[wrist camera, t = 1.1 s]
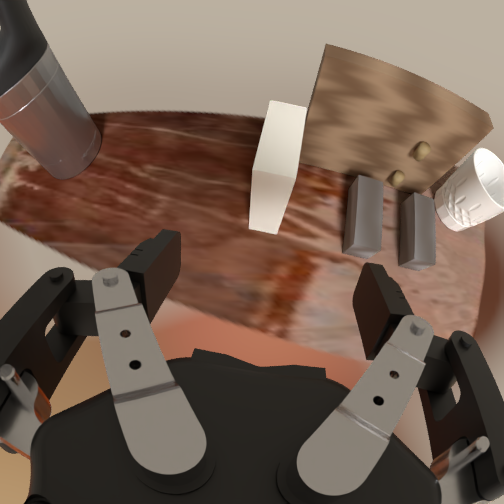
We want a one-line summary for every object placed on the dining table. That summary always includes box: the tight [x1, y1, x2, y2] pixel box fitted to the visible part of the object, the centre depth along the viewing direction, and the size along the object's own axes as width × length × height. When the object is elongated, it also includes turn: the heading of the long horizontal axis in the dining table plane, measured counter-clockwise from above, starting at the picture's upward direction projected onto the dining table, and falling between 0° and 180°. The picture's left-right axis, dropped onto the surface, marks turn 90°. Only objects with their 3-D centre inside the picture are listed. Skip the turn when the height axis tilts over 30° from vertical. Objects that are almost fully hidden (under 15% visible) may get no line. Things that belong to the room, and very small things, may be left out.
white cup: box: [434, 148, 504, 231], centre depth 28 cm, size 8×8×10 cm
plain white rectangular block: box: [249, 100, 307, 234], centre depth 26 cm, size 3×7×12 cm, turn 168°
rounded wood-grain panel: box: [299, 44, 493, 271], centre depth 24 cm, size 17×12×16 cm
